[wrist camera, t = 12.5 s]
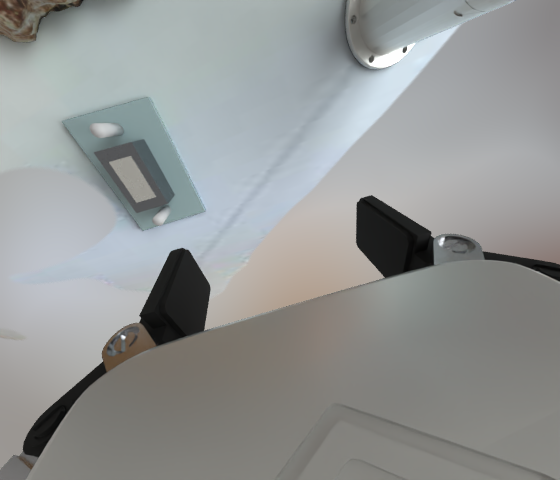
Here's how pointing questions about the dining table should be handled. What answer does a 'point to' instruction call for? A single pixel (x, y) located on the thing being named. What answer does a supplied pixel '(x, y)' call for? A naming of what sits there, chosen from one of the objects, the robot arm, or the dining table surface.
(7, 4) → the stone
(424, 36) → the robot arm
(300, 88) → the dining table surface
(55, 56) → the dining table surface
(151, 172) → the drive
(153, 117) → the grey-green peg board
